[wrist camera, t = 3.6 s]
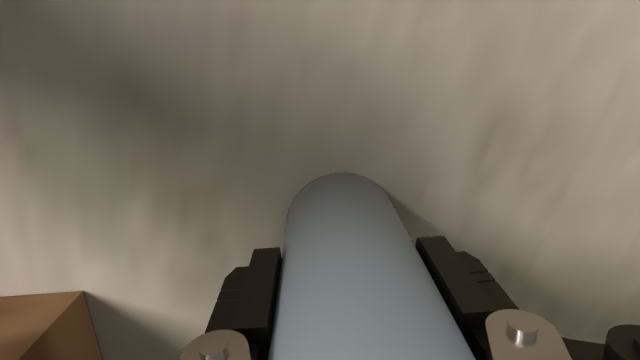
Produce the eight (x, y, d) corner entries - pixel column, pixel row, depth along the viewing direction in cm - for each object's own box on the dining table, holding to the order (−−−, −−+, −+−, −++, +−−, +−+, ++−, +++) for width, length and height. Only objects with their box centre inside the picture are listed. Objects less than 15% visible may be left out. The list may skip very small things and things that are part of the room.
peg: (395, 168, 14) (572, 415, 5) (395, 268, 15) (537, 626, 6) (281, 177, 14) (222, 440, 5) (291, 276, 15) (261, 648, 6)
